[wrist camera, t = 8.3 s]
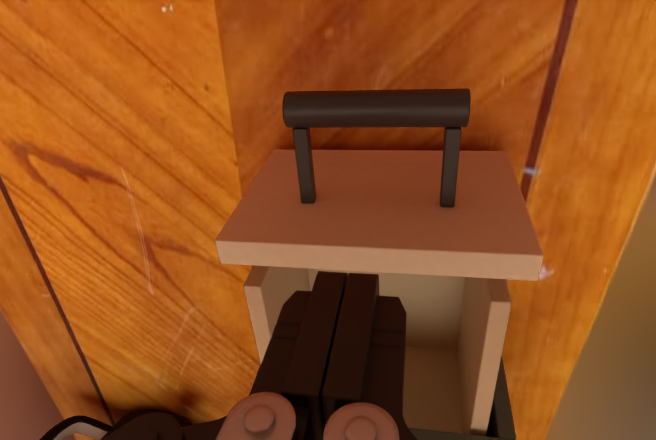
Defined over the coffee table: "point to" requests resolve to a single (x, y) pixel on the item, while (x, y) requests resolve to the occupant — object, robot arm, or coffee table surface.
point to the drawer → (395, 240)
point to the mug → (96, 426)
